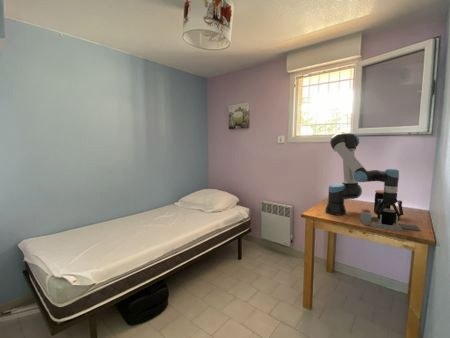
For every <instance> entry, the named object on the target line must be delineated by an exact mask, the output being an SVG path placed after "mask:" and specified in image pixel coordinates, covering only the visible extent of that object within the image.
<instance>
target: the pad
mask: <svg viewBox="0 0 450 338" xmlns="http://www.w3.org/2000/svg"><path fill="white" fill-rule="evenodd" d="M398 226H400V227H402V229H401V230H406V231H407V230H408V231H412V232H413V231H415V232H420V231H421V232H422V230H421V228H420V227H419V226H418V225H414V224H407V223H400V222H398Z"/></svg>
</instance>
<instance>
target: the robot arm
mask: <svg viewBox="0 0 450 338" xmlns="http://www.w3.org/2000/svg"><path fill="white" fill-rule="evenodd" d="M359 144H360V137H359V135H357V134H355V133H351V132H348V133H347V132H346V133H340V132H339V133H336V134H333V136H331V138H330V147H331V148H332V150H333V152H336V153H337V154H338V155H339V157H340V158H341V160H342V168H343V169H342V170H343V181H341V183H339V182H337V183H331V184H330V185H329V186H328V190H327V191H328V198H327V204H326V206H325V213H327V214H329V215H334V216H345V215H346V214H347V210H346V209H347V208H346V207H345V200H355V199H358V198H359V197H361V196H362V192H363V190H362V186H361V185H360V184H359V183H368V182H370V183H371V182H381V183H383V190H384V194H383V199H378V203H377V206H376V209H375V212H374V214H376V213H377V214H376V215H377V216H376V217H377V218H378V219H379V221H377V224H382V223H381V219H382V215H381V213H382V211H383V210H384V208H385V207H386V206H389V205H390V207H392V208H393V210H395V212H396V217H395V223H394V224H393V225H394V226H398V225H399V221H400V218H401V216H404V210H403V205H402V204H403V201H402V200H398V199H397V198H398V192H399V191H398V190H399V189H398V187H399V178H400V171H399V170H398V169H396V168H395V169H394V168H386V169H385V170H378V169H371V170H367V169H366V168H365V167H364V166H363V165H362V164H361V162H360V161H359V160H358V159H357V157H356V156H355V151H356V150H357V147H358V146H359ZM382 201H383V202H384V203H383V205H382V207H381V208H380V205H381V202H382ZM396 203H397V206H398V208H397V206H396ZM379 208H380V209H379ZM378 210H379V211H378Z"/></svg>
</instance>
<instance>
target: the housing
mask: <svg viewBox="0 0 450 338" xmlns="http://www.w3.org/2000/svg"><path fill="white" fill-rule="evenodd" d="M363 209H364V208H363ZM363 209H362V208H361V210H360V220H359V221H360V224H361V225H365V226H366V225H367V226H370V227H372V228H379V229H386V230H392V231H398V232H399V231H400V232H401V231H402V230H403V229H402V227H400V226H399V225H394V224H393V225H385V224H382V223H381V224H379V223H378V222H379V219H378V218H377V216H372V215H373V214H372V211H371V210H370V212H369V213H368V212H364V211H363ZM372 221H376V222H377V223H376V222H372ZM394 223H395V221H394Z"/></svg>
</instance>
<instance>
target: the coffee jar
mask: <svg viewBox="0 0 450 338" xmlns="http://www.w3.org/2000/svg"><path fill="white" fill-rule="evenodd" d="M383 194H384V189H383V190H381V189H378V190H377V189H376V190H375V191H374V202H373V203H374V205H373V212H374V213H375V209H376V206H377V203H378V199H383ZM383 203H384V202H383V201H382V202H381V205H380V208H381V207H382V205H383ZM380 208H379V209H380ZM385 208H386V209H391V206H390V205H389V206H386V207H385ZM378 211H379V210H378ZM375 214H376V215H378V214H377V213H375Z"/></svg>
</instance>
